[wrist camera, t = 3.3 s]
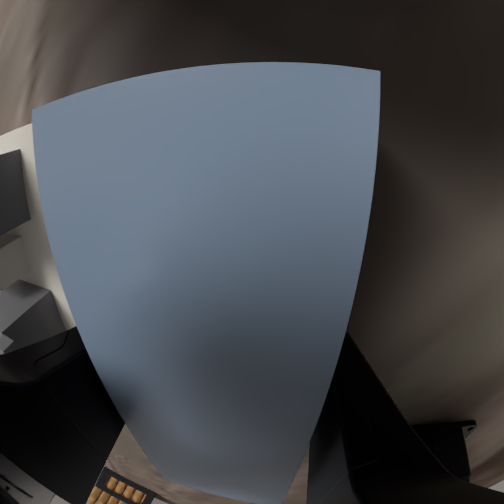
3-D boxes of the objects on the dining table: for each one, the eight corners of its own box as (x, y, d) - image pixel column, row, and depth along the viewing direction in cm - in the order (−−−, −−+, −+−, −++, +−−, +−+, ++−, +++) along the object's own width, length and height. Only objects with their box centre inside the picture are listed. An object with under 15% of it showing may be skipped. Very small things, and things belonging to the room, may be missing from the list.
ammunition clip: (105, 468, 37) (81, 511, 27) (104, 466, 37) (79, 510, 26) (156, 494, 37) (134, 539, 26) (156, 492, 36) (134, 539, 26)
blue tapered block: (299, 408, 12) (280, 507, 7) (204, 391, 12) (164, 478, 8) (341, 104, 6) (380, 71, 2) (176, 104, 7) (31, 109, 3)
